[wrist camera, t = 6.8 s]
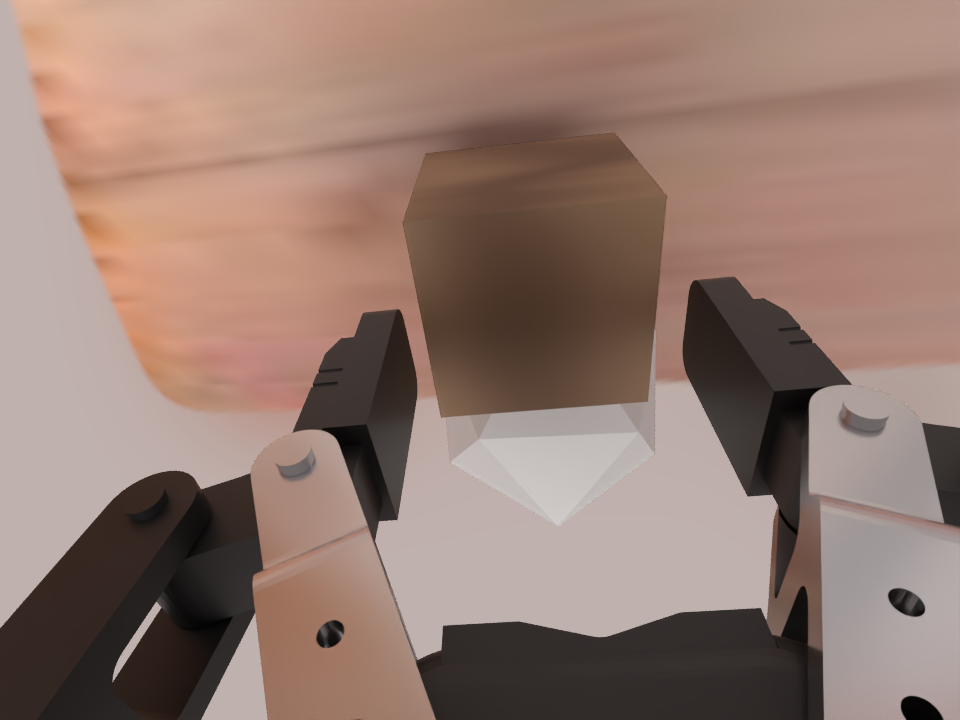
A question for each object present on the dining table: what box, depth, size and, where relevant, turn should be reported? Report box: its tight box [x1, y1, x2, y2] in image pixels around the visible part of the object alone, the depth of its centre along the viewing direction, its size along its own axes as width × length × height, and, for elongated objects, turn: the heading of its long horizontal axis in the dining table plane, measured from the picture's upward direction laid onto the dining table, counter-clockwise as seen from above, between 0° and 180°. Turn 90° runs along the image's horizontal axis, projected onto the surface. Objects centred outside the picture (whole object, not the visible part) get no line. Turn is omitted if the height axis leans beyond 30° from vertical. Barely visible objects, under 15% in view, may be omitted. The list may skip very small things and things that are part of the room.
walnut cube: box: [403, 133, 667, 417], centre depth 14 cm, size 5×5×5 cm
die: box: [446, 328, 656, 526], centre depth 22 cm, size 8×9×10 cm
